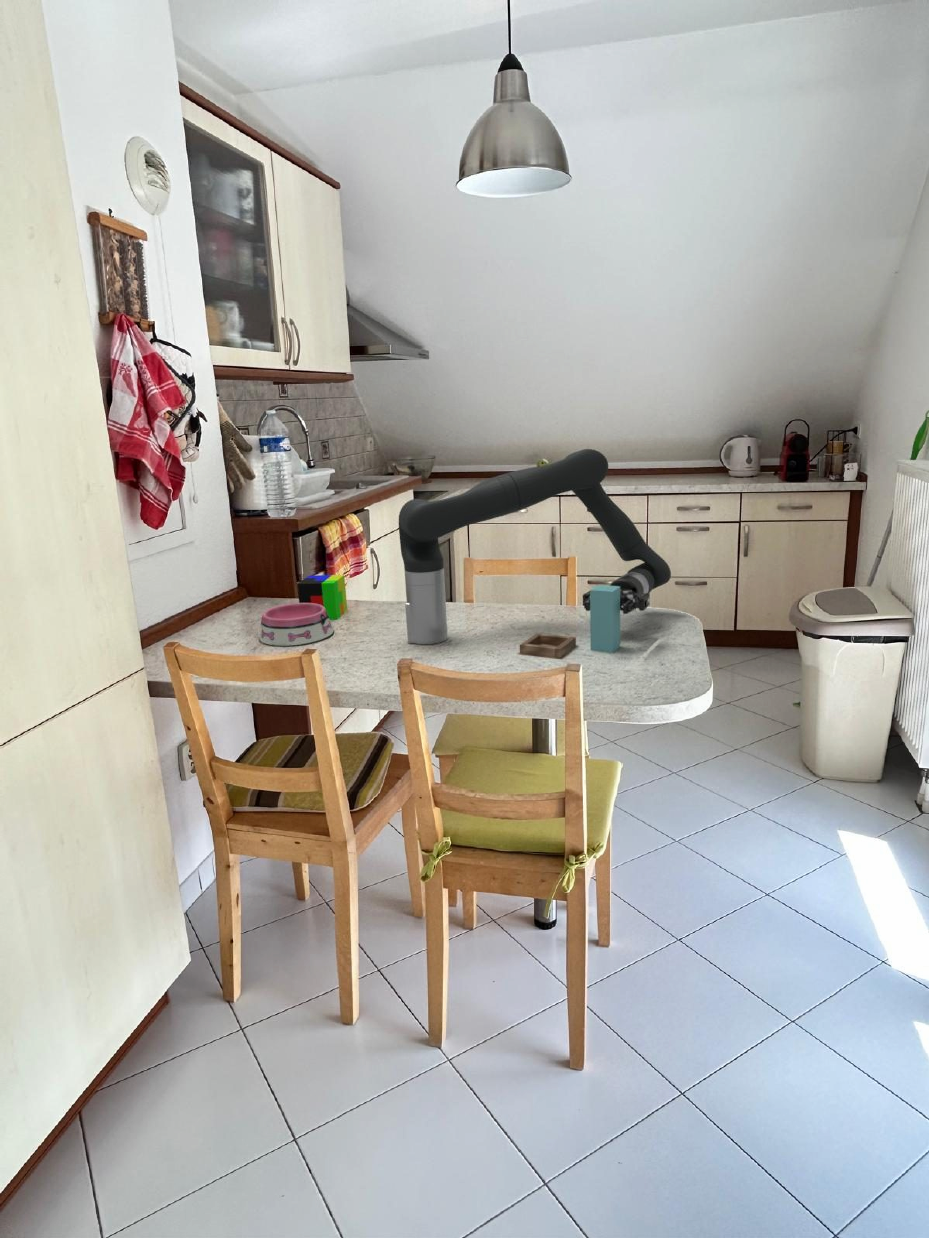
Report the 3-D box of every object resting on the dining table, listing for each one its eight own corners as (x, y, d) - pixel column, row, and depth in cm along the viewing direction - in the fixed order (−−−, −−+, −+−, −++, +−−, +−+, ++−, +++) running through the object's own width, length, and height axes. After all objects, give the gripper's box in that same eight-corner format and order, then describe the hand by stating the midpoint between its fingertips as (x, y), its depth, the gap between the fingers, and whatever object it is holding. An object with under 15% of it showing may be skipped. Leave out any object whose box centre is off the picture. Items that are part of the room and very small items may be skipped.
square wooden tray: (517, 658, 180) (516, 645, 180) (536, 645, 189) (535, 632, 188) (561, 663, 176) (561, 650, 175) (578, 649, 184) (578, 636, 184)
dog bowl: (319, 648, 196) (316, 620, 194) (246, 647, 199) (242, 620, 197) (343, 626, 213) (341, 600, 211) (276, 626, 217) (273, 601, 215)
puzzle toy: (312, 610, 230) (309, 575, 228) (347, 610, 229) (344, 574, 226) (300, 620, 221) (297, 583, 218) (337, 619, 219) (333, 583, 217)
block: (590, 652, 181) (590, 590, 177) (598, 645, 185) (598, 584, 181) (612, 654, 178) (612, 591, 175) (620, 648, 182) (620, 586, 179)
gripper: (599, 573, 195) (574, 588, 181) (659, 576, 188) (637, 593, 175) (599, 604, 197) (574, 621, 183) (658, 608, 190) (637, 627, 177)
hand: (605, 607), depth 179 cm, fingers open, 8 cm apart
